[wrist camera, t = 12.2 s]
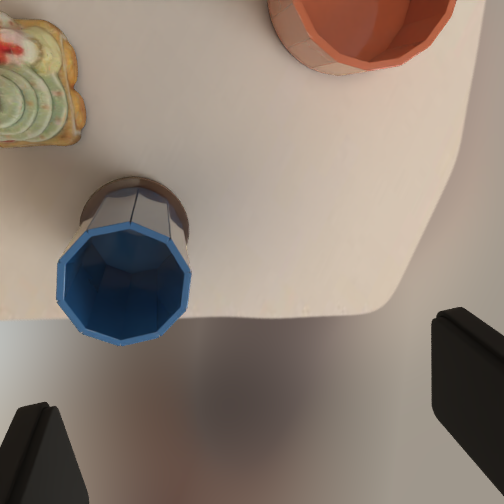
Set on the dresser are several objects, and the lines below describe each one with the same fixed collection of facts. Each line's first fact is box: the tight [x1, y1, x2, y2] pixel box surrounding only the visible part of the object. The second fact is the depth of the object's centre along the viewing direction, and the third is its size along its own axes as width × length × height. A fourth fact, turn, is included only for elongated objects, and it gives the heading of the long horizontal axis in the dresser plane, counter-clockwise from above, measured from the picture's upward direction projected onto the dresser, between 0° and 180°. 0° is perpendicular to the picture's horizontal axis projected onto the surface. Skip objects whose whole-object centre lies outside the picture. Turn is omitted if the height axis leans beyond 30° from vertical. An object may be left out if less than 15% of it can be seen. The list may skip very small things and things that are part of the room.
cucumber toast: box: [0, 12, 86, 148], centre depth 26 cm, size 8×6×10 cm
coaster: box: [80, 177, 189, 246], centre depth 35 cm, size 8×8×1 cm
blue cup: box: [56, 187, 192, 346], centre depth 29 cm, size 7×7×11 cm
